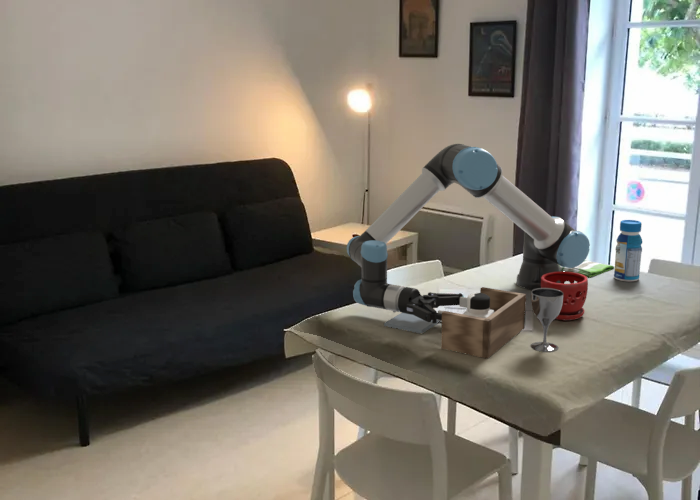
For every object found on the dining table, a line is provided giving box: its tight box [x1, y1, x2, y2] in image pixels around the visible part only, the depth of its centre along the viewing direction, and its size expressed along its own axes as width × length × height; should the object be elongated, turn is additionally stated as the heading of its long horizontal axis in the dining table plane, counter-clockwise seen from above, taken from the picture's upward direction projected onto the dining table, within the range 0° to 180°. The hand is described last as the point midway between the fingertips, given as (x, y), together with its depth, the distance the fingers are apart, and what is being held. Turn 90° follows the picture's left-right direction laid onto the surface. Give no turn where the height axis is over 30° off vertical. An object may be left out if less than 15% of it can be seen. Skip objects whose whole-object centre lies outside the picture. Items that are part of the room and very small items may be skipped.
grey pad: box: [383, 312, 440, 334], centre depth 213 cm, size 12×12×1 cm
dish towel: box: [559, 259, 615, 279], centre depth 269 cm, size 17×23×4 cm
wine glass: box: [530, 288, 563, 353], centre depth 192 cm, size 8×8×15 cm
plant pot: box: [541, 271, 589, 321], centre depth 216 cm, size 13×13×12 cm
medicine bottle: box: [462, 292, 494, 318], centre depth 201 cm, size 7×7×12 cm
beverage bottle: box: [613, 219, 643, 283], centre depth 251 cm, size 8×8×20 cm
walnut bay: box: [440, 286, 527, 359], centre depth 200 cm, size 13×26×10 cm, turn 147°
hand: (471, 312), depth 201 cm, fingers open, 13 cm apart
